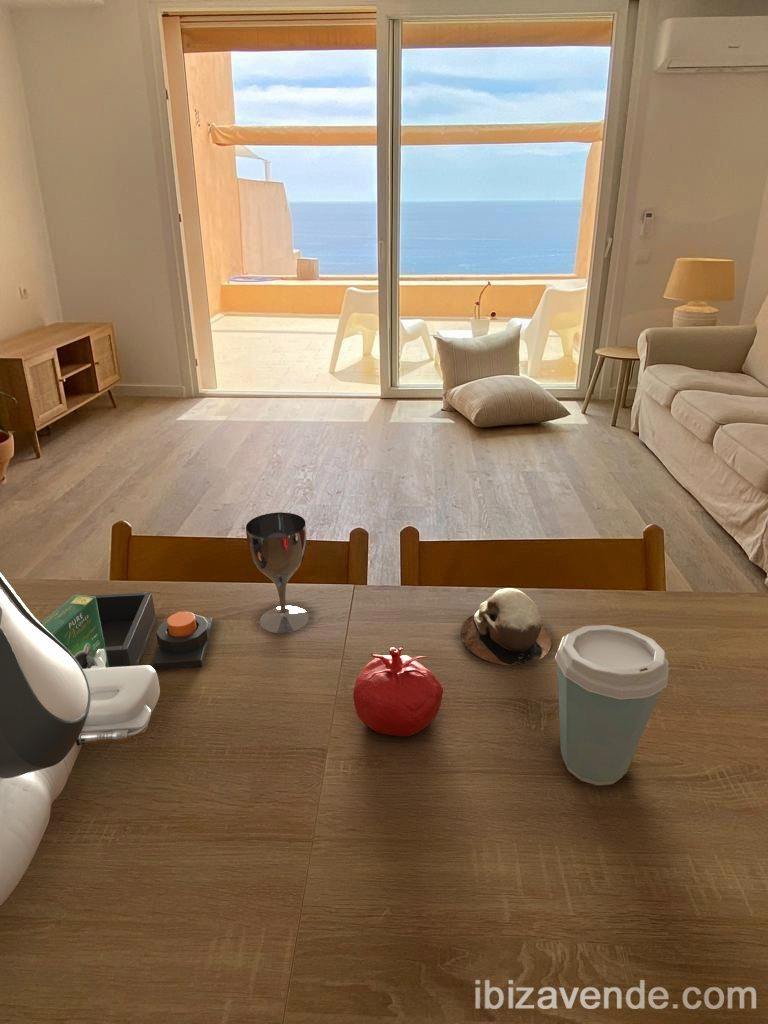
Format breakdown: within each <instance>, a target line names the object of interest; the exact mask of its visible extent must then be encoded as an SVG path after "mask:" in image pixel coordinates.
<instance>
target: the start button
mask: <svg viewBox="0 0 768 1024" xmlns="http://www.w3.org/2000/svg"><path fill="white" fill-rule="evenodd" d="M194 615H195V614H194V613H193V612H191V611H178V612H176V613H173V614H171V615H170V616H169V617H168V618H167V619H166V620H167V625H168V631H169V634H170V635H171V636H174V637H181V636H186V635H189V634H192V633H193V632H195V631H196V628H197V626H196V620H195V616H194Z"/></svg>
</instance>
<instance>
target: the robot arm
mask: <svg viewBox="0 0 768 1024" xmlns="http://www.w3.org/2000/svg"><path fill="white" fill-rule="evenodd" d="M86 662H87V664H88V669H82V667H81V666H80V664H79V663H78V661H77V660H76V658H75V657H74V656H73V655H72V654H71V653H70V651H69V650H68V649H67V648H66V647H65V646H64V645H63V644H61V643H60V642H59V641H58V640H57V639H56V638H55V637H54V636H53V635H52V634H51V633H50V632H49V631H48V630H47V629H46V628H44V627H43V626H42V625H41V622H40V621H39V620H38V619H37V618H36V617H35V616H34V614H33V613H32V612H31V610H30V609H29V608H28V607H27V605H26V604H25V603H24V602H23V600H22V599H21V597H20V596H19V595H18V594H17V592H16V591H15V590H14V588H13V587H12V586H11V584H10V583H9V582H8V581H7V579H6V578H5V576H4V575H3V574H2V573H1V572H0V907H1V906H2V905H3V904H4V903H5V902H6V901H7V899H9V896H11V895H12V893H13V892H14V891H15V889H16V887H17V886H18V884H19V883H20V881H21V880H22V878H23V876H24V875H25V873H26V872H27V870H28V868H29V867H30V865H31V862H32V860H33V859H34V856H35V854H36V852H37V850H38V848H39V846H40V843H41V841H42V839H43V837H44V834H45V832H46V830H47V827H48V825H49V822H50V818H51V814H52V813H51V812H52V811H51V810H52V804H53V802H54V801H56V799H58V797H59V795H61V793H62V792H63V790H64V788H65V786H66V785H67V784H66V783H67V781H68V779H69V777H70V774H71V772H72V769H73V767H74V765H75V763H76V760H77V758H78V756H79V753H80V751H81V749H82V746H83V745H96V744H97V745H98V744H102V743H108V742H109V743H110V742H113V743H123V742H127V741H129V739H130V738H132V737H135V736H138V735H139V734H143V733H144V732H146V731H147V729H148V727H149V724H150V722H151V721H150V720H151V719H152V714H153V712H154V710H155V708H156V706H157V703H158V701H159V699H160V695H161V688H160V682H159V676H158V673H157V670H155V669H154V667H152V666H151V665H148V664H146V665H145V664H143V665H139V666H125V667H108V668H106V667H105V664H106V655H105V650H104V649H98V650H89V654H87V656H86Z"/></svg>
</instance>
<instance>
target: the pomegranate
mask: <svg viewBox="0 0 768 1024" xmlns="http://www.w3.org/2000/svg"><path fill="white" fill-rule="evenodd" d="M402 651H404V646H401V647H399V648H398V649H397V648H395V647H390V648H389V654H390V655H381V654H373V653H370V655H371V657H373V659H372V660H370V661H369V662H368V663H367V664H366V665H365V666H364V668H363V669H362V670H361V672H360V673H359V674H358V676H357V677H356V680H355V683H354V687H353V690H352V691H353V692H352V694H353V695H352V699H353V703H354V708H355V713H356V716H357V717H358V718H359V720H360V721H361V722H362V723H363V724H364V725H367V726H368V727H369V728H370V729H371V730H373V731H374V732H376V733H379V734H383V735H388V736H395V737H411V736H413V735H416V734H418V733H419V732H421V731H423V730H424V729H425V728H426V727H428V726H429V725H430V724H431V723H432V722H433V721H434V720H435V718H436V717H437V715H438V714H439V711H440V708H441V704H442V700H443V694H444V687H443V686H442V684H441V682H440V681H439V680H438V679H437V678H436V677H435V675H434V673H433V672H432V671H431V670H430V669H428V668H426V667H424V665H423V664H422V663H420V662H419V661H418V660H419V659H427V658H429V656H414V657H411V656H410V655H401V653H402Z"/></svg>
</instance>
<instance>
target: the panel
mask: <svg viewBox="0 0 768 1024" xmlns="http://www.w3.org/2000/svg"><path fill="white" fill-rule="evenodd" d="M194 616H195V620H196V626H197V628H196V631H195V632H193V633H192V634H189V635H186V636H181V637H174V636H171V635H170V634H169V631H168V625H167V619H165V620H164V621H163V622H162V623H161V624H159V625H158V627H157V630H156V633H155V634H156V639H157V645H158V646H159V647H158V649H157V652H156V655H155V658H154V660H153V669H154V670H155V671H162V670H163V671H164V670H178V669H179V670H180V669H193V668H203V666H204V662H205V657H206V654H207V650H208V646H209V642H210V637H211V634H212V630H213V626H214V623H213V622H214V621H213V617H212V616H211V617H204V616H202V615H198V614H194Z"/></svg>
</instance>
